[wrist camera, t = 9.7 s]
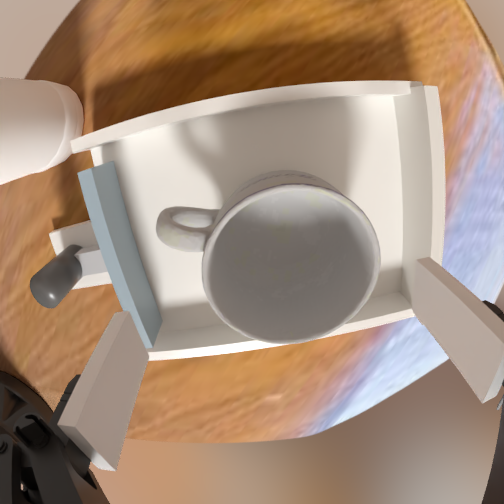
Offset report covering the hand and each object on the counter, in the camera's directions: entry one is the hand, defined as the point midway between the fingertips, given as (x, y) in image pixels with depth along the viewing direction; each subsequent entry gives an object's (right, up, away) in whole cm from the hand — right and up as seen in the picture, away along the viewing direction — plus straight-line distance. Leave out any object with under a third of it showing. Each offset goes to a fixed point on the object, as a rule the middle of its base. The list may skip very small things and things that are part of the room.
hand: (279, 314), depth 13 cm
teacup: (0, +5, +12) cm, 13 cm away
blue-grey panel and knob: (-15, +2, +12) cm, 19 cm away
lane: (-3, +5, +13) cm, 14 cm away
